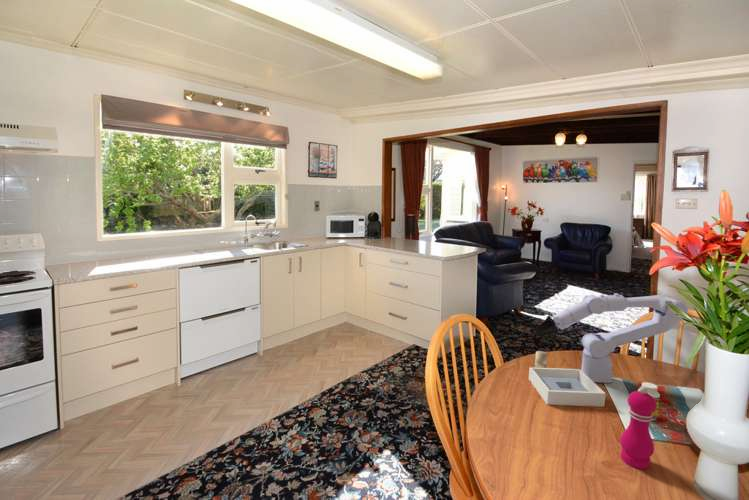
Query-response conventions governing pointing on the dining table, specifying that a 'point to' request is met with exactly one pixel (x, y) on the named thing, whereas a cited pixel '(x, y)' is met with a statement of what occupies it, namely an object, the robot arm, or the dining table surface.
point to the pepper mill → (638, 430)
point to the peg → (540, 359)
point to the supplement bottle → (653, 392)
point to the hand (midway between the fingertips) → (536, 333)
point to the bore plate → (563, 384)
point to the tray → (567, 397)
